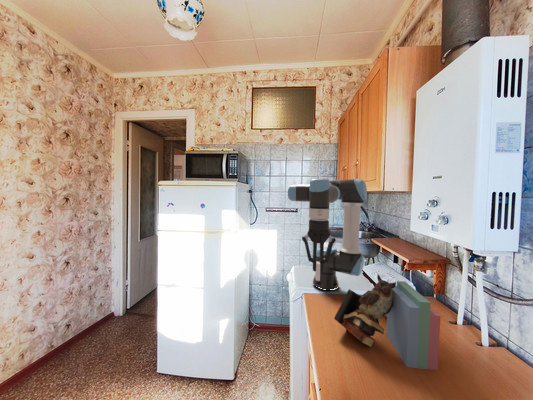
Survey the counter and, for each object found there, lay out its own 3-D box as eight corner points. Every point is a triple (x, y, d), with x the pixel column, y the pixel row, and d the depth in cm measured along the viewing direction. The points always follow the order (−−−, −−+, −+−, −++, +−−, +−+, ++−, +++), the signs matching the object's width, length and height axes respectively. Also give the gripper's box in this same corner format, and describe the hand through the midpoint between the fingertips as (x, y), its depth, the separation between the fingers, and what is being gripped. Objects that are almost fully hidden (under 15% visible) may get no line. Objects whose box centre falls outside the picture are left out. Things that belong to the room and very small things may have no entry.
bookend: (331, 320, 85) (357, 264, 89) (349, 328, 89) (374, 274, 93) (359, 345, 71) (389, 277, 75) (379, 353, 75) (406, 288, 79)
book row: (386, 334, 84) (388, 280, 83) (411, 337, 83) (413, 282, 82) (406, 367, 68) (409, 300, 67) (437, 371, 67) (441, 303, 66)
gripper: (301, 220, 78) (300, 282, 80) (338, 221, 76) (336, 284, 78) (301, 217, 86) (300, 274, 87) (334, 218, 84) (333, 276, 85)
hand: (317, 279), depth 82 cm, fingers closed
